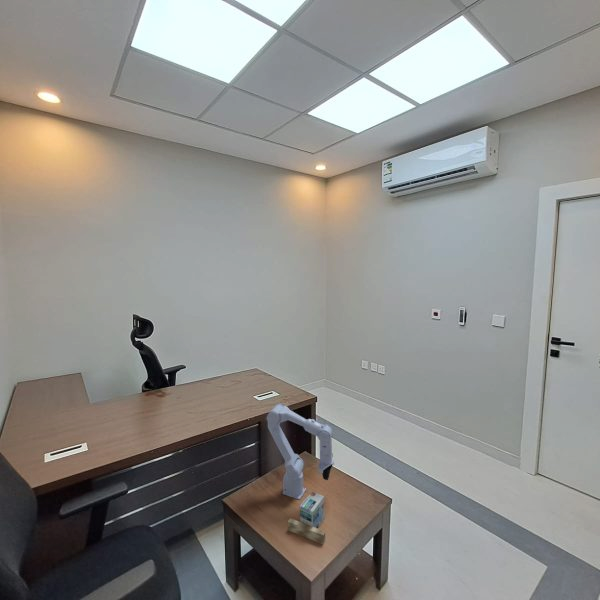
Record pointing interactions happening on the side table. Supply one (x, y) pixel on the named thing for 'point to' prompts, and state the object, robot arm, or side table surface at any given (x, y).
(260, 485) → the side table surface
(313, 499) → the light bulb box
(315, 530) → the metal block
